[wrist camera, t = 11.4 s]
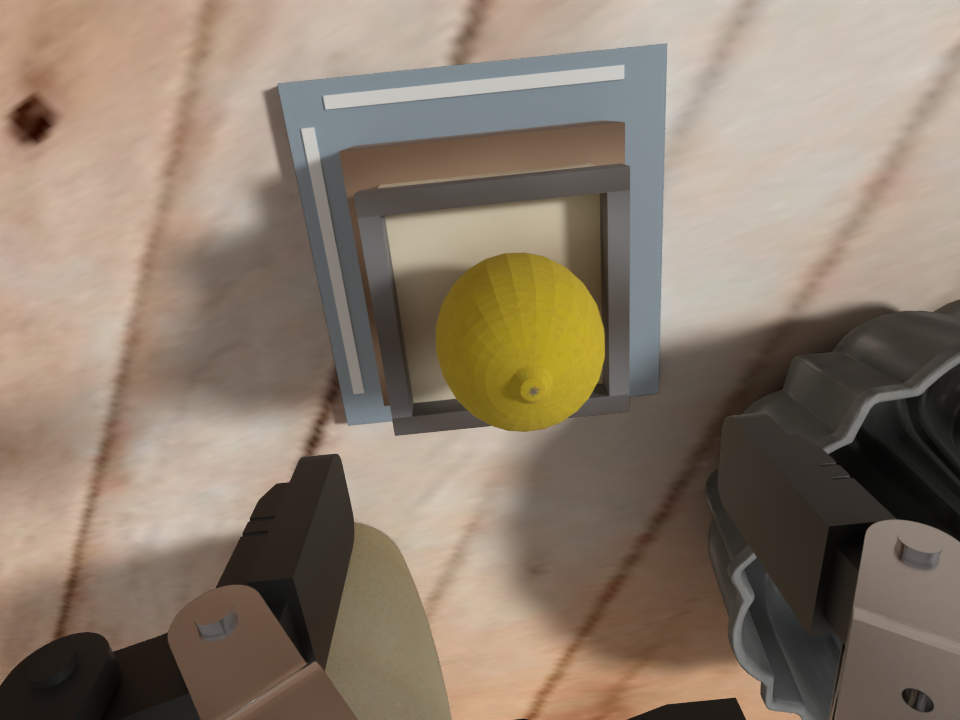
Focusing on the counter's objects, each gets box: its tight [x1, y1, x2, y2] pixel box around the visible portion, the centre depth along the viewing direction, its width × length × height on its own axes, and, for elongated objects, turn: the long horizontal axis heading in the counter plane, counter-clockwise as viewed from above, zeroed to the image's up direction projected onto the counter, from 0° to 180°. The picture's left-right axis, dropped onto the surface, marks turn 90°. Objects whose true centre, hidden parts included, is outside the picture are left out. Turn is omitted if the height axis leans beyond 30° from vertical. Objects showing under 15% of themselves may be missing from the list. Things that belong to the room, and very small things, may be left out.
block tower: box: [339, 120, 630, 436], centre depth 27 cm, size 12×12×9 cm
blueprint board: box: [277, 44, 667, 426], centre depth 31 cm, size 18×18×1 cm
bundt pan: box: [705, 300, 960, 720], centre depth 34 cm, size 26×26×10 cm
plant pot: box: [325, 523, 452, 720], centre depth 32 cm, size 15×15×16 cm
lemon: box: [436, 252, 605, 432], centre depth 20 cm, size 6×6×8 cm
